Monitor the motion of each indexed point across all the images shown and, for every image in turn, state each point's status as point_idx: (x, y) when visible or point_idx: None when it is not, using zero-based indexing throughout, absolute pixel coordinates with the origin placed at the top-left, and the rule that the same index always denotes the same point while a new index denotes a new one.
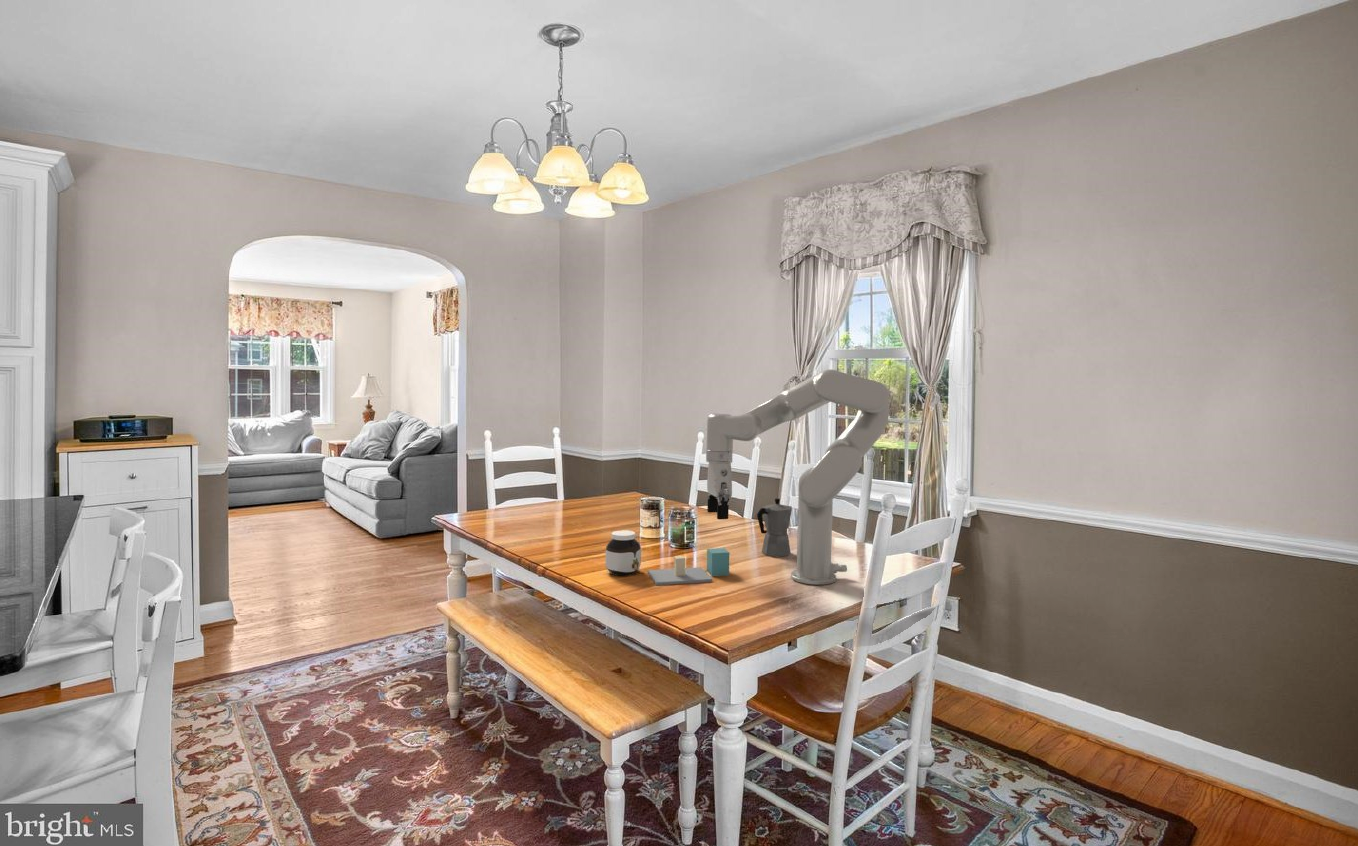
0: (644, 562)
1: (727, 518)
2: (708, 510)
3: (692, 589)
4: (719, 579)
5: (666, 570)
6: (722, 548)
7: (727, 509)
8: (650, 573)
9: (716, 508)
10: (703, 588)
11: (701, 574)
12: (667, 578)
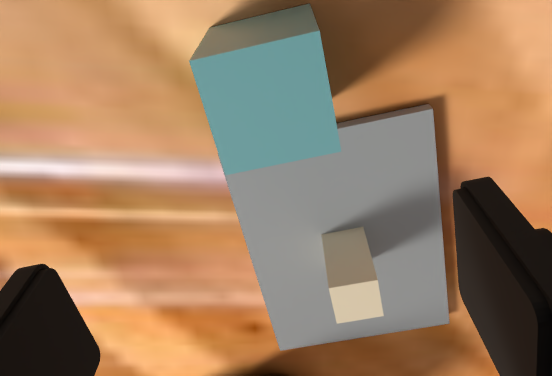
0: (129, 353)
1: (488, 184)
2: (95, 369)
3: (529, 194)
4: (391, 64)
5: (281, 292)
6: (205, 73)
7: (550, 265)
8: (325, 341)
9: (42, 311)
10: (526, 149)
11: (349, 156)
12: (401, 288)
